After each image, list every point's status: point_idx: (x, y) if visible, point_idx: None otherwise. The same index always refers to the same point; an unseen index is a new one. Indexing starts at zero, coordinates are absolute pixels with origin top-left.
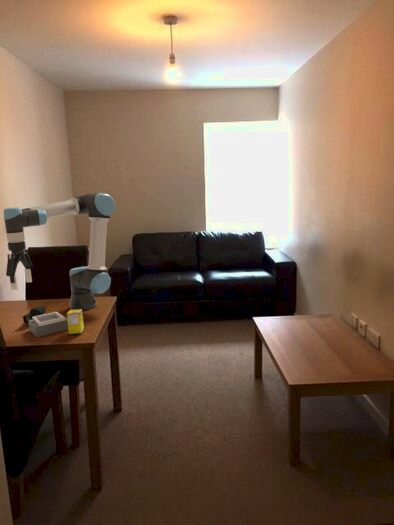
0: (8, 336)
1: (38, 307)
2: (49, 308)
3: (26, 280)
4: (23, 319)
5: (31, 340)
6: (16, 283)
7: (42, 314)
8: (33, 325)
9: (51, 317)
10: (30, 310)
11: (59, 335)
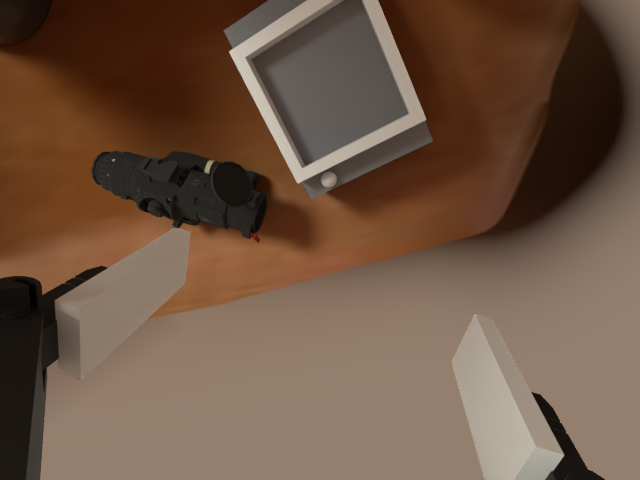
0: (372, 262)
1: (132, 184)
2: (24, 156)
3: (175, 286)
4: (256, 231)
5: (462, 151)
6: (510, 361)
7: (166, 158)
8: (399, 156)
9: (283, 78)
10: (172, 217)
11: (440, 11)
